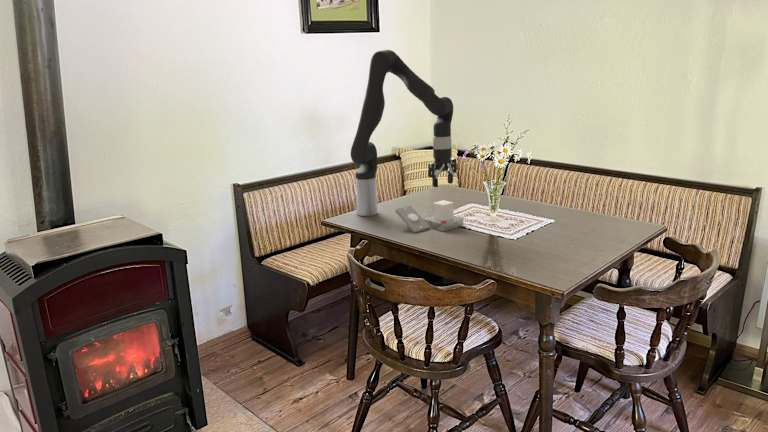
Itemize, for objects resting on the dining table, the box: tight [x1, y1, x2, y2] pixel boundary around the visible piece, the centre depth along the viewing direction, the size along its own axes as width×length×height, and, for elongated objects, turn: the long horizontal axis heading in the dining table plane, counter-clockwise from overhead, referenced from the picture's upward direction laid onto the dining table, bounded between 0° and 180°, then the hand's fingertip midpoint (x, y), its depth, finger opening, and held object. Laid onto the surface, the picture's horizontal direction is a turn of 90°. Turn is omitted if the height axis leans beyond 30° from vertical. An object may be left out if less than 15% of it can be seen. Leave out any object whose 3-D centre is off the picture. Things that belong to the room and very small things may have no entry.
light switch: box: [394, 205, 430, 234], centre depth 248 cm, size 8×6×14 cm
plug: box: [432, 199, 455, 221], centre depth 248 cm, size 6×6×8 cm
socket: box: [422, 215, 464, 232], centre depth 249 cm, size 12×12×4 cm
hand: (442, 185), depth 245 cm, fingers open, 8 cm apart
